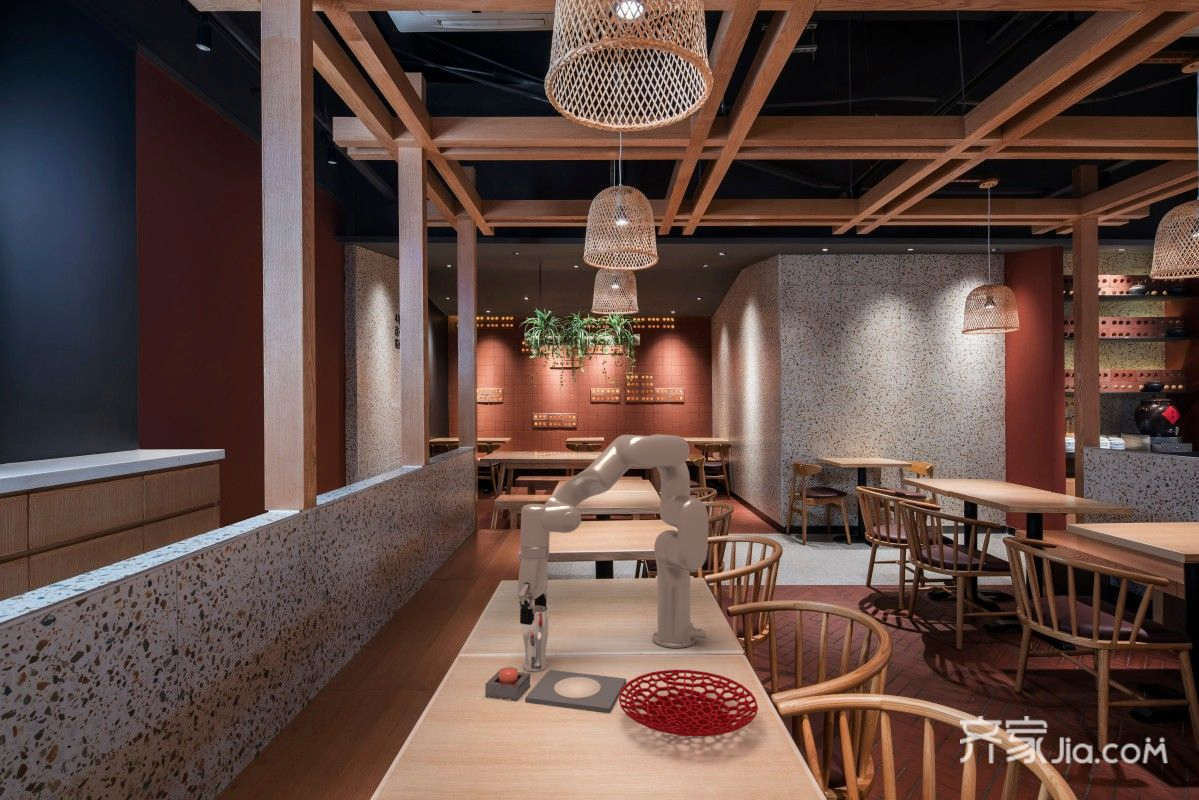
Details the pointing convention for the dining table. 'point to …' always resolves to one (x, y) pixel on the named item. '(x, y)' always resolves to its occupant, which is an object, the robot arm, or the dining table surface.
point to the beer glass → (536, 639)
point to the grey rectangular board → (577, 691)
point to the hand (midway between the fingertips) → (533, 618)
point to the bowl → (688, 705)
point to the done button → (508, 675)
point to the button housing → (507, 687)
